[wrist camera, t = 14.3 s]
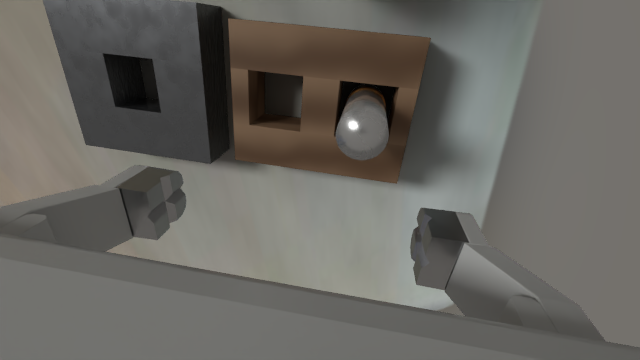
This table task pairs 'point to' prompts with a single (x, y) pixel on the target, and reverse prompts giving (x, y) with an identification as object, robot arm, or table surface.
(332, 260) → the table surface
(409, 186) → the table surface
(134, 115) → the socket block
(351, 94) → the metal vial
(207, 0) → the table surface
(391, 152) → the walnut rack
